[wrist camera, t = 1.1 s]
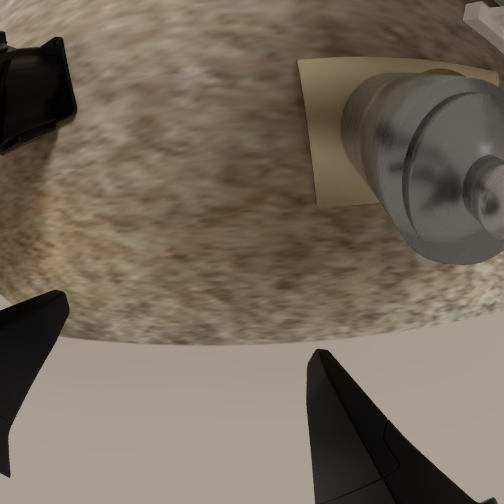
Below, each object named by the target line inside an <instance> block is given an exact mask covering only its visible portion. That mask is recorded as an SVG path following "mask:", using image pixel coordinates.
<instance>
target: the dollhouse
mask: <svg viewBox="0 0 504 504" xmlns="http://www.w3.org/2000/svg"><path fill="white" fill-rule="evenodd" d="M494 1H495V2H496V3H497V4H499V5H500V7H492V8H490V7H488V6H487V5H486V4H485V3H483V2H482V1H479V2H474V3H469V4H466V7H465V12H464V17H463V22H464V23H466V24H467V25H468V26H470V27H471V28H472V29H474V30H475V31H476V32H478V33H479V34H480V35H481V36H483V37H484V38H485V39H486V40H488V41H489V42H490V43H491V44H492V45H494V46H495V47H496V48H497V49H498V50H499V51H500V52H502V53H503V54H504V0H494Z"/></svg>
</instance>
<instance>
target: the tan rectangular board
mask: <svg viewBox="0 0 504 504" xmlns="http://www.w3.org/2000/svg"><path fill="white" fill-rule="evenodd" d="M297 64H298V69H299V75H300V81H301V87H302V93H303V100H304V106H305V113H306V120H307V127H308V134H309V142H310V150H311V158H312V167H313V176H314V185H315V195H316V206H317V209H324V208H334V207H343V206H353V205H364V204H374V203H380V201H379V200H378V199H377V197H376V196H375V194H374V193H373V192H372V190H371V189H370V188H369V186H368V185H367V184H366V182H365V181H364V179H363V178H362V177H361V176H360V174H359V173H358V172H357V170H356V169H355V168H354V166H353V165H352V164H351V162H350V160H349V159H348V157H347V155H346V153H345V150H344V147H343V144H342V138H341V118H342V113H343V110H344V107H345V104H346V102H347V100H348V98H349V97H350V95H351V94H352V92H353V91H354V90H355V89H356V88H357V87H358V86H359V85H360V84H361V83H362V82H364V81H365V80H367V79H369V78H370V77H372V76H375V75H378V74H382V73H387V72H408V73H429V74H442V75H453V76H462V77H470V78H477V79H481V80H484V81H488V82H490V83H492V84H494V85H496V86H498V87H499V78H498V72H495V71H491V70H486V69H482V68H477V67H471V66H466V65H460V64H454V63H447V62H440V61H431V60H422V59H410V58H394V57H332V58H316V59H303V60H297Z"/></svg>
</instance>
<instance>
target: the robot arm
mask: <svg viewBox="0 0 504 504" xmlns="http://www.w3.org/2000/svg"><path fill="white" fill-rule="evenodd" d="M56 42H57V45H56ZM6 44H7V41H6V35H5V32H4V31H0V155H5V154H7V153H9V152H11V151H13V150H15V149H17V148H19V147H21V146H23V145H26V144H28V143H30V142H32V141H34V140H36V139H38V138H40V137H42V136H44V135H46V134H48V133H50V132H51V131H53V130H55V129H56V127H57V125H56V123H58V122H59V121H61V120H63V119H65V118H67V117H69V116H72V115H74V114H75V113H76V111H77V104H76V100H75V96H74V92H73V88H72V83H71V79H70V74H69V69H68V64H67V59H66V54H65V48H64V42H63V38H62V37H54V38H53V39H51V40H50V41H48V42H47V43H45V44H44V45H42V46H41V47H33V48H20V49H16V48H13V47H11V46H8V45H6ZM70 106H71V111H70V110H69V107H70ZM69 311H70V309H69V304H68V301H67V297H66V294H65V293H64V292H63V291H60V290H53V291H50V292H47V293H45V294H42V295H39V296H37V297H34V298H31V299H29V300H26V301H23V302H21V303H18V304H16V305H13V306H10V307H8V308H5V309H3V310H0V473H1V474H3V475H5V476H7V477H9V478H10V475H11V473H10V462H9V445H8V435H9V431H10V428H11V425H12V424H13V421H14V419H15V417H16V414H17V413H18V411H19V409H20V407H21V405H22V402H23V401H24V399H25V397H26V395H27V393H28V391H29V389H30V387H31V385H32V383H33V381H34V380H35V378H36V376H37V374H38V372H39V371H40V369H41V367H42V365H43V363H44V362H45V360H46V358H47V356H48V355H49V353H50V351H51V350H52V348H53V346H54V344H55V342H56V340H57V338H58V336H59V334H60V332H61V330H62V328H63V326H64V323H65V321H66V319H67V317H68V315H69ZM306 394H307V395H306V396H307V397H306V406H307V415H308V425H309V436H310V447H311V458H312V469H313V482H314V495H315V504H498V503H497V501H496V499H495V498H494V497H492V498H490V499H487V500H485V501H483V502H481V503H478V502H476V501H474V500H473V499H472V498H470V497H469V496H468V495H467V494H466V493H465V492H464V491H463V490H461V489H460V488H459V487H458V486H457V485H456V484H455V483H454V482H452V481H451V480H450V479H449V478H448V477H447V476H446V475H445V474H444V473H443V472H441V471H440V470H439V469H438V468H437V467H436V466H435V465H434V464H433V463H432V462H430V461H429V460H428V459H427V458H426V457H425V456H424V455H423V454H422V453H421V452H420V451H418V450H417V449H416V448H415V447H414V446H413V445H412V444H411V443H410V442H409V441H408V440H407V439H406V438H405V437H404V436H403V435H402V434H401V433H400V432H399V430H398V429H397V428H396V427H395V426H394V425H393V424H392V423H391V422H390V420H387V417H386V416H385V415H384V414H383V413H382V412H381V411H380V409H379V408H378V407H377V406H376V405H375V404H374V403H373V401H372V400H371V399H370V398H369V397H368V396H367V395H366V393H365V392H364V391H363V390H362V389H361V388H360V386H359V385H358V384H357V383H356V382H355V381H354V380H353V378H352V377H351V376H350V375H349V374H348V373H347V371H346V370H345V369H344V368H343V367H342V366H341V365H340V363H339V362H338V361H337V360H336V359H335V358H334V357H333V355H332V354H331V353H330V352H329V351H328V350H324V349H316V350H315V352H314V354H313V355H312V357H311V359H310V361H309V362H308V366H307V393H306Z"/></svg>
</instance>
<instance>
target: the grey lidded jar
mask: <svg viewBox="0 0 504 504" xmlns="http://www.w3.org/2000/svg"><path fill="white" fill-rule="evenodd" d="M341 138H342V144H343V147H344V150H345V153H346V155H347V157H348V159H349V160H350V162H351V164H352V165H353V166H354V168H355V169H356V170H357V172H358V173H359V174H360V176H361V177H362V178H363V179H364V181H365V182H366V184H367V185H368V186H369V188H370V189H371V190H372V192H373V193H374V194H375V196H376V197H377V199H378V200H379V201H380V203H381V204H382V206H383V207H384V209H385V210H386V211H387V213H388V214H389V216H390V217H391V219H392V220H393V222H394V223H395V225H396V226H397V228H398V229H399V231H400V232H401V234H402V236H403V237H404V239H405V240H406V241H407V242H408V244H409V245H410V246H411V247H412V248H413V249H414V250H415V251H417V252H418V253H419V254H421V255H422V256H424V257H426V258H428V259H430V260H433V261H435V262H440V263H445V264H456V265H472V264H476V263H480V262H483V261H486V260H488V259H490V258H492V257H494V256H496V255H497V254H499V253H500V252H501V251H503V250H504V91H503V90H502V89H501V88H499V87H498V86H496V85H494V84H492V83H490V82H488V81H484V80H481V79H477V78H470V77H462V76H453V75H442V74H429V73H408V72H387V73H382V74H378V75H375V76H372V77H370V78H369V79H367V80H365V81H364V82H362V83H361V84H360V85H359V86H358V87H357V88H356V89H355V90H354V91H353V92H352V94H351V95H350V97H349V98H348V100H347V102H346V104H345V107H344V110H343V113H342V118H341Z"/></svg>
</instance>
